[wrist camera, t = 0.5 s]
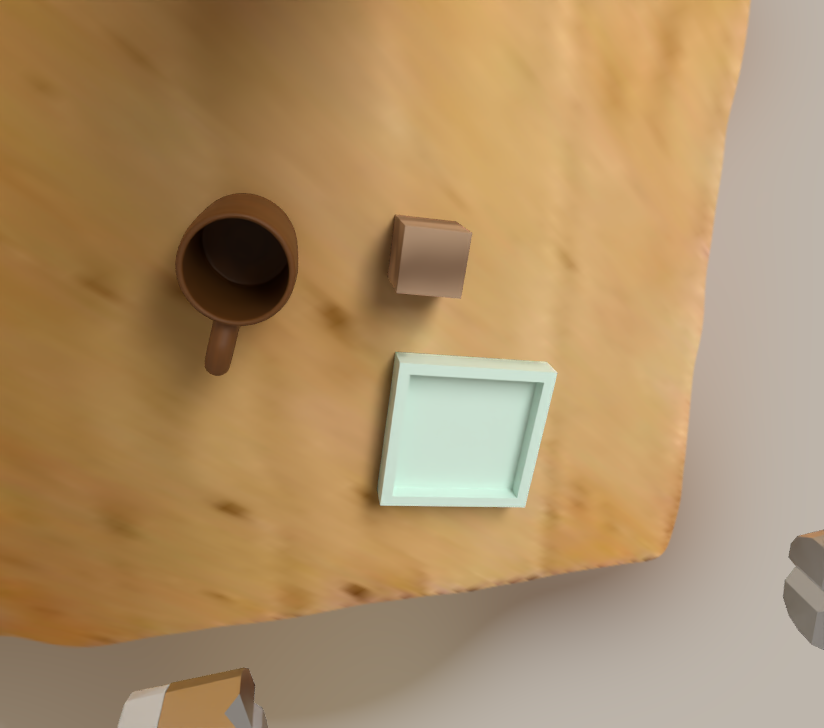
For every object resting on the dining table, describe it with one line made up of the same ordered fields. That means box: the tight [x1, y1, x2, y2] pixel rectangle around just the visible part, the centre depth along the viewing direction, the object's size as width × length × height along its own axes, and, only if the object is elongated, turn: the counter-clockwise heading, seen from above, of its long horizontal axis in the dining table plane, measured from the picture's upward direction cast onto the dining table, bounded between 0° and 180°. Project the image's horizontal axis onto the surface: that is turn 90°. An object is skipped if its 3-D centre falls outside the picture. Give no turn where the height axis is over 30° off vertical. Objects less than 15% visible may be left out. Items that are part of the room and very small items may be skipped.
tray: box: [377, 352, 557, 507], centre depth 55 cm, size 14×14×2 cm
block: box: [387, 215, 472, 299], centre depth 47 cm, size 5×5×5 cm
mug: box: [175, 193, 298, 376], centre depth 43 cm, size 12×8×9 cm, turn 163°
